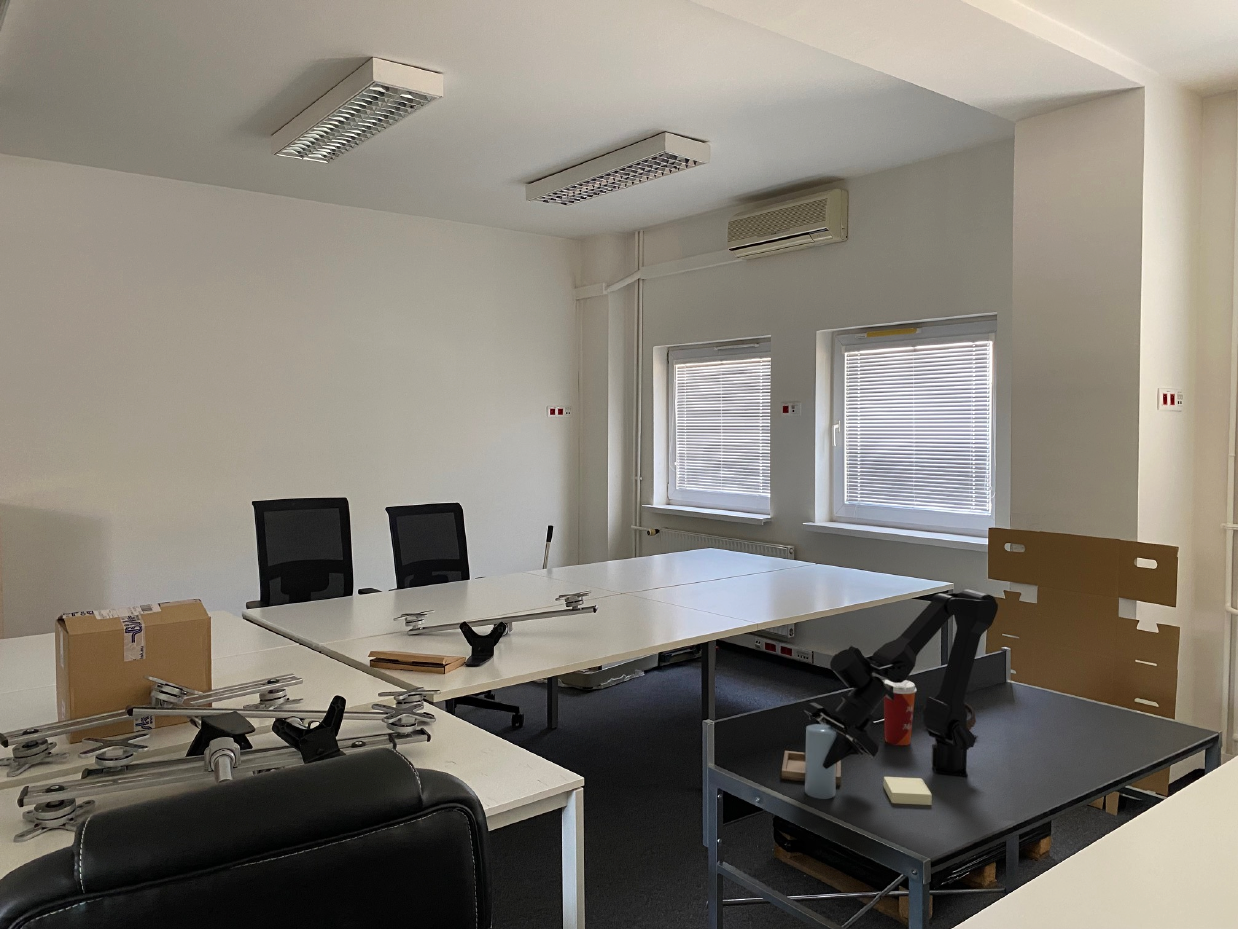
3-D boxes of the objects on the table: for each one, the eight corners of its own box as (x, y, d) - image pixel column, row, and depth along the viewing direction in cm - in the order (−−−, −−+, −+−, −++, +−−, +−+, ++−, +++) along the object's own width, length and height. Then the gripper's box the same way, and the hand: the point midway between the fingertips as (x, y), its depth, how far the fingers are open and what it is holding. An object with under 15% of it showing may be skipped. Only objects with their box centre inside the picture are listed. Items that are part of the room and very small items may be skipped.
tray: (840, 764, 188) (840, 756, 188) (840, 785, 178) (840, 777, 177) (784, 758, 191) (785, 750, 191) (781, 778, 181) (781, 770, 180)
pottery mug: (972, 726, 214) (981, 704, 210) (966, 754, 207) (975, 731, 203) (923, 707, 219) (931, 685, 214) (915, 734, 212) (923, 711, 207)
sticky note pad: (921, 790, 177) (921, 778, 177) (931, 807, 169) (931, 794, 169) (883, 788, 177) (883, 776, 177) (891, 805, 170) (892, 792, 170)
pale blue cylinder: (835, 787, 176) (836, 725, 176) (835, 800, 171) (836, 736, 170) (805, 784, 178) (806, 723, 177) (804, 797, 172) (805, 733, 171)
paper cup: (916, 749, 198) (918, 689, 197) (882, 746, 199) (884, 686, 198) (912, 736, 205) (914, 679, 205) (879, 734, 207) (880, 676, 206)
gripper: (914, 741, 170) (866, 804, 167) (855, 711, 188) (811, 767, 184) (883, 707, 167) (834, 770, 164) (826, 679, 184) (780, 736, 181)
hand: (815, 761), depth 173 cm, fingers closed on pale blue cylinder, 6 cm apart
